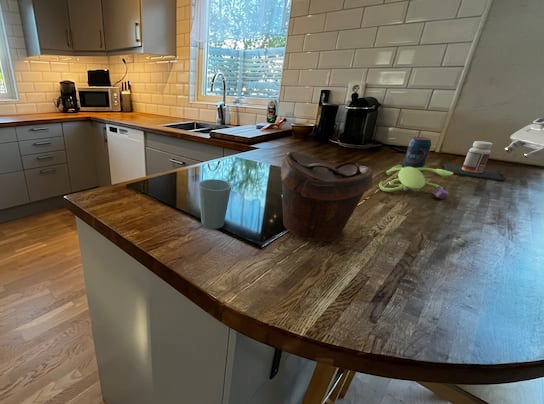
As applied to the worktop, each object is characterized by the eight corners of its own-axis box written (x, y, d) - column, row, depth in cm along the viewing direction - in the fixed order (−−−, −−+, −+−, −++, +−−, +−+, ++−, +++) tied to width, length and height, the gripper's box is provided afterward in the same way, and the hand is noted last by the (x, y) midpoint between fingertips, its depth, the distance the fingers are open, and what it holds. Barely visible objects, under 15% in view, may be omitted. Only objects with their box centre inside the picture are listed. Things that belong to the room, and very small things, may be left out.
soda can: (402, 167, 121) (411, 138, 117) (402, 164, 127) (411, 135, 122) (423, 171, 118) (433, 140, 113) (422, 166, 123) (432, 138, 118)
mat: (495, 172, 118) (495, 170, 118) (503, 181, 107) (504, 179, 107) (443, 165, 126) (444, 163, 126) (446, 173, 116) (447, 171, 116)
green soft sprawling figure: (448, 183, 105) (454, 167, 103) (449, 206, 86) (456, 188, 83) (387, 172, 115) (391, 158, 113) (375, 191, 96) (380, 174, 94)
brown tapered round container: (377, 245, 65) (402, 167, 58) (292, 252, 62) (308, 170, 55) (328, 211, 81) (343, 146, 74) (259, 215, 78) (267, 148, 71)
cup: (202, 232, 69) (204, 191, 65) (193, 218, 76) (194, 180, 72) (232, 229, 71) (236, 188, 67) (221, 215, 78) (224, 178, 74)
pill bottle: (479, 170, 118) (491, 141, 113) (484, 174, 113) (497, 144, 108) (459, 167, 120) (470, 140, 116) (463, 171, 115) (475, 142, 111)
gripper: (595, 140, 96) (544, 167, 102) (542, 130, 114) (501, 153, 120) (586, 126, 95) (534, 154, 101) (533, 118, 114) (492, 142, 120)
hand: (516, 153), depth 111 cm, fingers open, 8 cm apart
